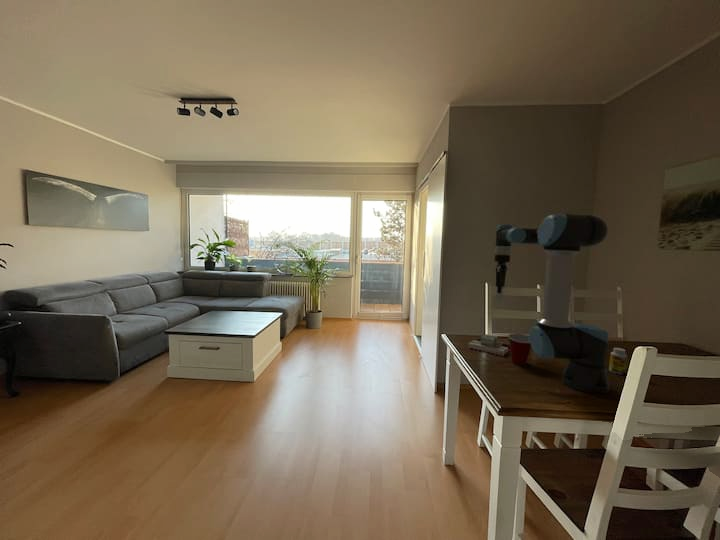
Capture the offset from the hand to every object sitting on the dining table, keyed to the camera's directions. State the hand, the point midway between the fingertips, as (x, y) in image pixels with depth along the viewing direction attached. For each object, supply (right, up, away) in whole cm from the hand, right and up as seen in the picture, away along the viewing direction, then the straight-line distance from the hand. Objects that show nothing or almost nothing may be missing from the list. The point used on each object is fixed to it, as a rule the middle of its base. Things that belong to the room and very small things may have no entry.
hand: (499, 298), depth 171 cm
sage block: (-9, -22, -8) cm, 25 cm away
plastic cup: (-2, -27, -25) cm, 37 cm away
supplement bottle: (+37, -29, -32) cm, 57 cm away
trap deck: (-6, -25, -4) cm, 26 cm away
